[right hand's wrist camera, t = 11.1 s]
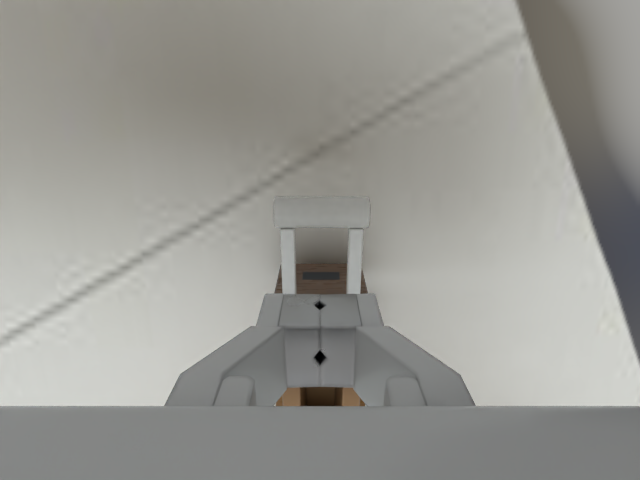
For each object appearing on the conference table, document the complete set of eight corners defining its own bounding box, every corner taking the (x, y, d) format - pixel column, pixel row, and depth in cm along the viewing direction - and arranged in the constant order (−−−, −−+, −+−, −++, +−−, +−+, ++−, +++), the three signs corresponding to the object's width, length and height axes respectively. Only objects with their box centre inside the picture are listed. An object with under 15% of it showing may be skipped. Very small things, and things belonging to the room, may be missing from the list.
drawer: (277, 173, 20) (254, 216, 13) (365, 173, 20) (389, 216, 13) (288, 462, 28) (278, 583, 21) (351, 462, 28) (361, 583, 21)
